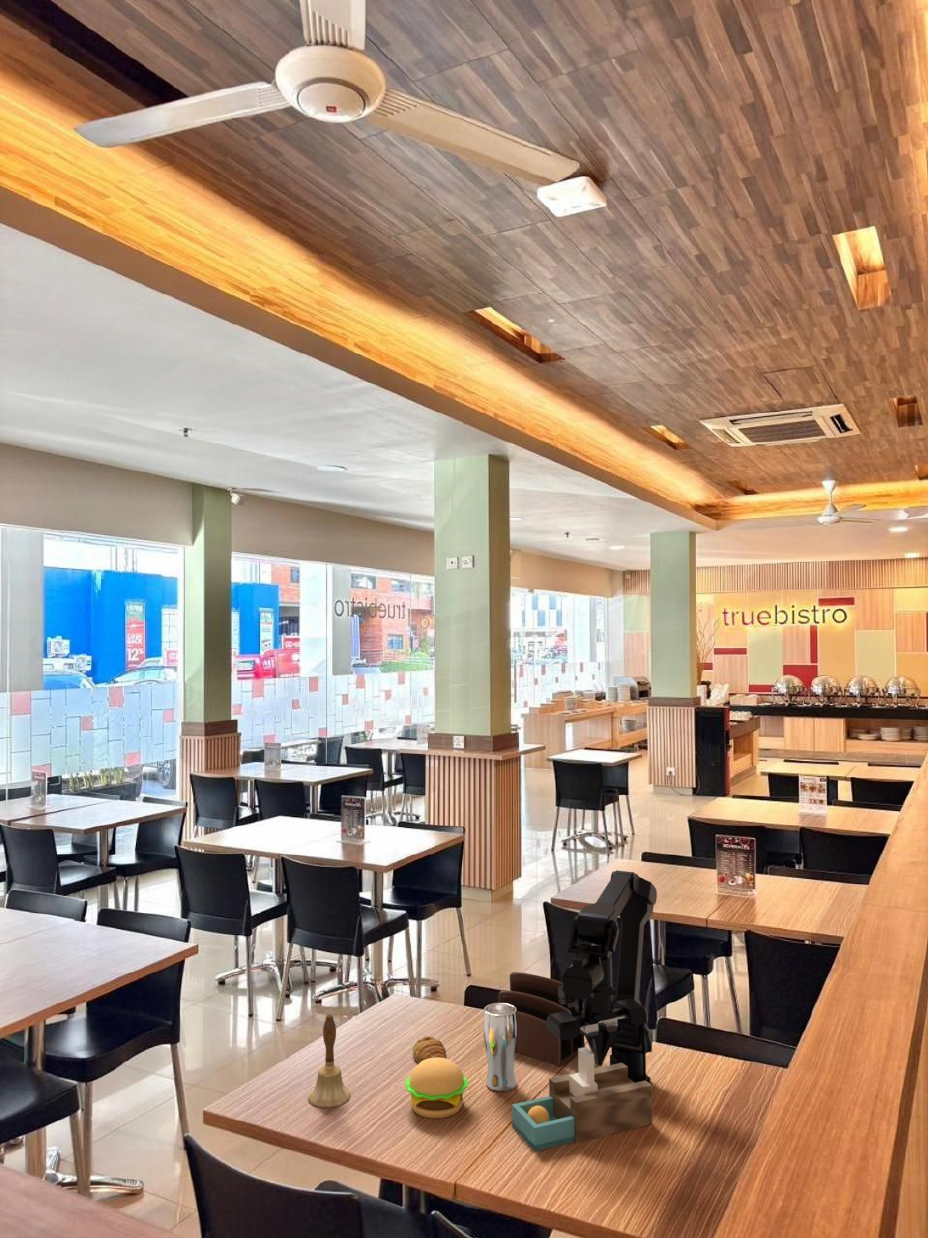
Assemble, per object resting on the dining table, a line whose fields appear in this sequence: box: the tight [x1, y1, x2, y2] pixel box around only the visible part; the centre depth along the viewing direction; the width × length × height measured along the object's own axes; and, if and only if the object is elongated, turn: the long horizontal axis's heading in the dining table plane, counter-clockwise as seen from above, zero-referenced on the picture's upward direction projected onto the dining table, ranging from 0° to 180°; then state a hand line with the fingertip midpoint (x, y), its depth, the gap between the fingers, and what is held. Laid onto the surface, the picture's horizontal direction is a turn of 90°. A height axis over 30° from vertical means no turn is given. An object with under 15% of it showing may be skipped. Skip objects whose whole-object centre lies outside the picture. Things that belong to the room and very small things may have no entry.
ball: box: [528, 1106, 549, 1124], centre depth 164 cm, size 4×4×4 cm
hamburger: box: [405, 1058, 469, 1119], centre depth 174 cm, size 12×12×9 cm
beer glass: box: [482, 1002, 518, 1092], centre depth 183 cm, size 7×7×15 cm
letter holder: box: [498, 971, 586, 1067], centre depth 200 cm, size 10×20×14 cm, turn 50°
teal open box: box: [511, 1095, 576, 1152], centre depth 164 cm, size 8×9×4 cm
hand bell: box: [307, 1013, 352, 1109], centre depth 178 cm, size 8×8×16 cm
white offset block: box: [569, 1046, 598, 1096], centre depth 167 cm, size 3×5×8 cm, turn 23°
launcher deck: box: [548, 1063, 653, 1144], centre depth 169 cm, size 16×10×7 cm, turn 113°
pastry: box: [412, 1035, 448, 1064], centre depth 194 cm, size 9×7×4 cm
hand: (598, 1065), depth 169 cm, fingers closed
